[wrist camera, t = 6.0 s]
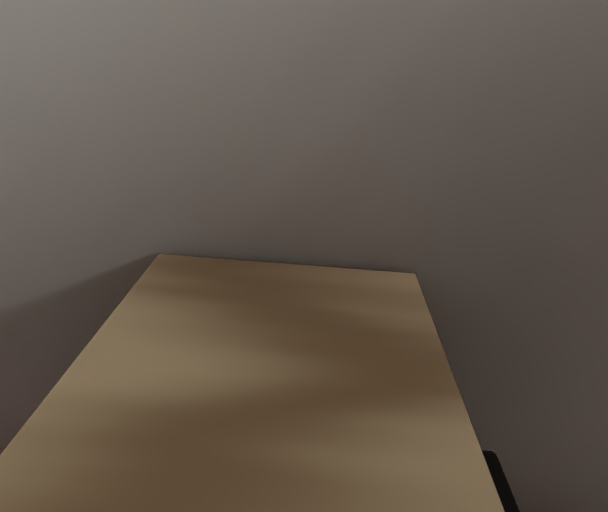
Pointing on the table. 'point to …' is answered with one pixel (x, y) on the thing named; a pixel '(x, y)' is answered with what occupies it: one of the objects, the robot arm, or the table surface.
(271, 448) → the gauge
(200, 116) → the table surface
